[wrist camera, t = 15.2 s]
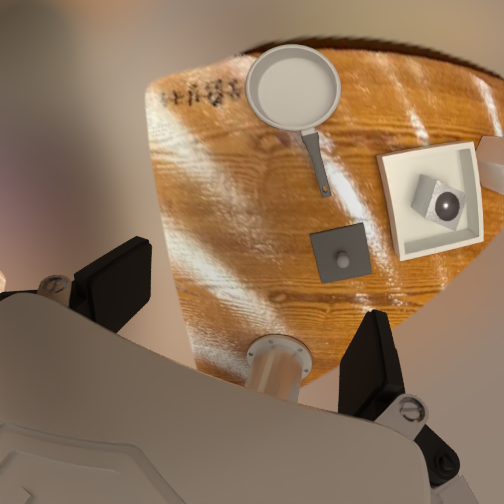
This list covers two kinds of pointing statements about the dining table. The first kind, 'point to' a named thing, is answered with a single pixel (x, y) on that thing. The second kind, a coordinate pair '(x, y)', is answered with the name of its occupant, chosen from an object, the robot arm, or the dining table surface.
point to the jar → (491, 163)
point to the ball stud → (341, 253)
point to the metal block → (438, 202)
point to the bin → (403, 190)
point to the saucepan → (295, 95)
